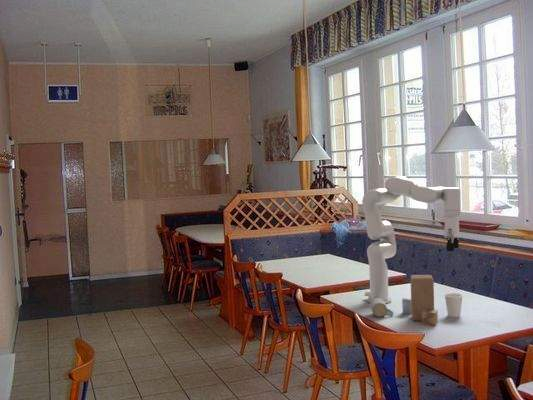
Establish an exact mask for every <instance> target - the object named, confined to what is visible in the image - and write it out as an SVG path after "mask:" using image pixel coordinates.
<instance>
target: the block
mask: <svg viewBox="0 0 533 400" xmlns="http://www.w3.org/2000/svg"><path fill="white" fill-rule="evenodd" d="M434 280H435V279H434V278H433V276H432V275H431V274H411V275H410V298H411V314H410V315H411V319H412V321H414V322H422V311H423V310H424V309H431V310H435V288H434V287H435V285H434V284H435V282H434Z"/></svg>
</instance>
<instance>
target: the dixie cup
mask: <svg viewBox="0 0 533 400" xmlns="http://www.w3.org/2000/svg"><path fill="white" fill-rule="evenodd" d="M444 300H445V306H446V312H447V313H446V314H447V317H449V318H460V317H461V311H462V303H463V294H462V293H457V292H452V293H451V292H450V293H448V292H447V293H445V294H444Z"/></svg>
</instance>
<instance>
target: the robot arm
mask: <svg viewBox="0 0 533 400" xmlns="http://www.w3.org/2000/svg"><path fill="white" fill-rule="evenodd" d="M402 196H403V197H407V198H409V199H412V200H415V201H417V202H422V203H424V204H436V203H443V218H444V232H443V233H444V235H443V236H444V238H445V239H446V252H454V251H455V249H459V247H460V246H459V245H460V244H459V243H460V242H459V241H460V240H459V235H460V221H459V218H460V217H461V190H460V188H459V187H455V186H454V187H445V186H434V187H433V186H432V187H428V186H422V185H419V184H418V182H417V181H416V180H412V179H409V178H407V177H406V176H403V175H398V176H390V177H388V178H387V179H386V180H385V182H384V187H380V188H373V189H369V190H367V192H365V194H364V195H363V197H362V199H361V200H362V201H361V202H362V209H363V213H364V221H365V225H366V233H367V237H368V238H369V239H371V240H374V241H375V240H379V241H376V242H371V244H369V246H367V249H366V254H367V259H368V260H367V261H368V267H369V268H368V269H369V271H368V272H369V291H365V293H364V296H365V297H368V298H367V299H366V300H367V303H370V304H371V302H372V300H374V299H376V298H380V299H382V300H383V301H384V302H385V303H386V304H390V303H392V301H393V300H392V298H391V297H389V274H388V273H389V270H388V264H387V262H386V259H390V258H393V257H394V256H395V255H396V253H397V242H396V236H395V235H396V234H395V229H394V227H393V225H392V223H391V222H390V221H388V220H382V212H381V209H379V207H378V205H385V204H388V205H389V204H392V203H393V202H394V201H396V200H397V199H398V198H400V197H402Z"/></svg>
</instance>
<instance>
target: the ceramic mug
mask: <svg viewBox="0 0 533 400" xmlns="http://www.w3.org/2000/svg"><path fill="white" fill-rule="evenodd" d="M369 308H370V310H371V312H372V315H374V316H375V317H377V318H382V317H384V316H386V315H387V316H390V317H393V315H394V311H392V310H391V309H389V308H388V307H387V303H385V302H384V301H383V300H382V299H380V298H376V299H374V300H372V302H371V303H370V304H369Z"/></svg>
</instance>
